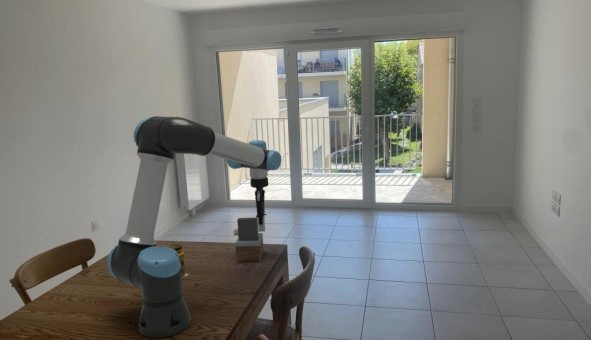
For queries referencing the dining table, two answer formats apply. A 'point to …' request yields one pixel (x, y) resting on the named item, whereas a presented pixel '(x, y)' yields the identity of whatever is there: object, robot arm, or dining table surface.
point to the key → (235, 231)
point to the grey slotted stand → (248, 232)
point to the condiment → (181, 256)
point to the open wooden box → (249, 253)
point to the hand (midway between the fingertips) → (261, 230)
